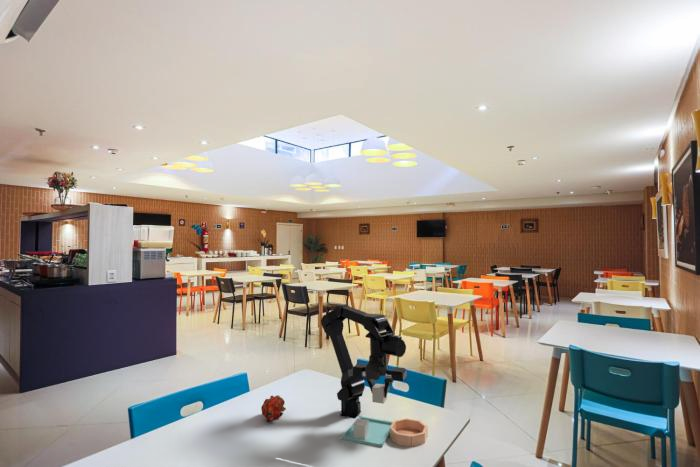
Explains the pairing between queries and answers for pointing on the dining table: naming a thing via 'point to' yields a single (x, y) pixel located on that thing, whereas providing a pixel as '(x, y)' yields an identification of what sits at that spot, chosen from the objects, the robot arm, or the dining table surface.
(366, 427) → the grey cardboard cube
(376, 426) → the tray
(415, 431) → the bowl
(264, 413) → the dragon fruit
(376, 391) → the cube
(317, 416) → the dining table surface
